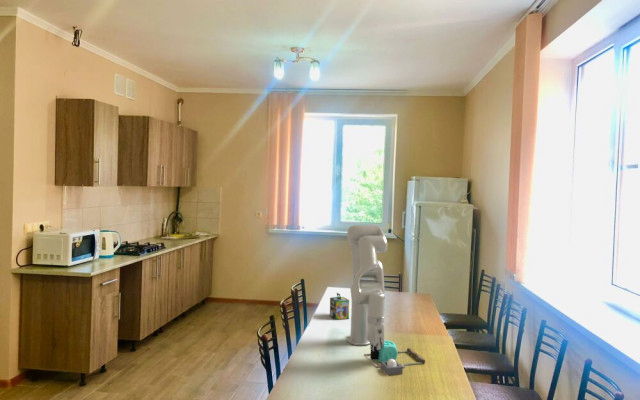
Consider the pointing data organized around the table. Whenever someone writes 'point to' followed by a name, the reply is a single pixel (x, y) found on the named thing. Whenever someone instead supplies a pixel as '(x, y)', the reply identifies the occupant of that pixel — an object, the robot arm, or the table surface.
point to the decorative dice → (387, 351)
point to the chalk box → (339, 307)
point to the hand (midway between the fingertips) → (374, 358)
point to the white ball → (391, 363)
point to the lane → (415, 355)
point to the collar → (391, 368)
